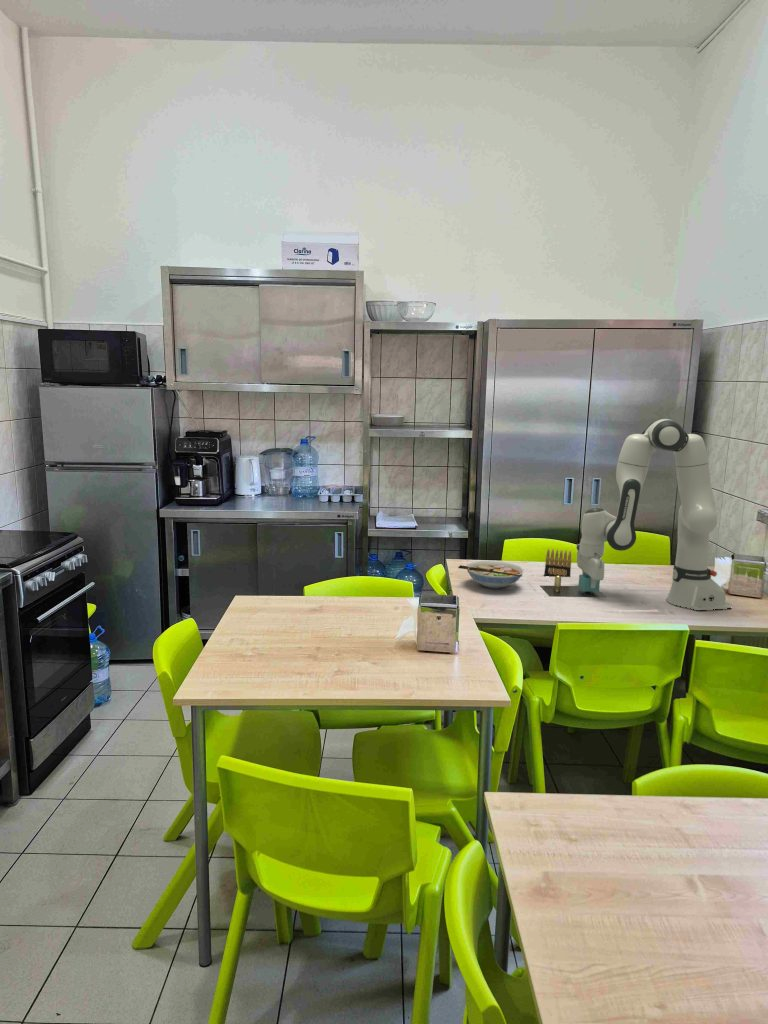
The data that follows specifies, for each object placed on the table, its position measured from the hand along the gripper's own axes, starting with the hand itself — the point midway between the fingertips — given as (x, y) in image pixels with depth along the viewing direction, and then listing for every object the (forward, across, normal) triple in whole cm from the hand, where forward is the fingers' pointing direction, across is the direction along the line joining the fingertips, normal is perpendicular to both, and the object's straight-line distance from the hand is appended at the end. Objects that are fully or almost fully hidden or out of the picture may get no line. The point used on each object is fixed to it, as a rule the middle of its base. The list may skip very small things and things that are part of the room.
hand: (588, 584), depth 263 cm
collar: (+2, 0, 0) cm, 2 cm away
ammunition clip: (+4, +23, +5) cm, 24 cm away
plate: (+4, 0, +6) cm, 7 cm away
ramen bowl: (+4, +9, +35) cm, 37 cm away
